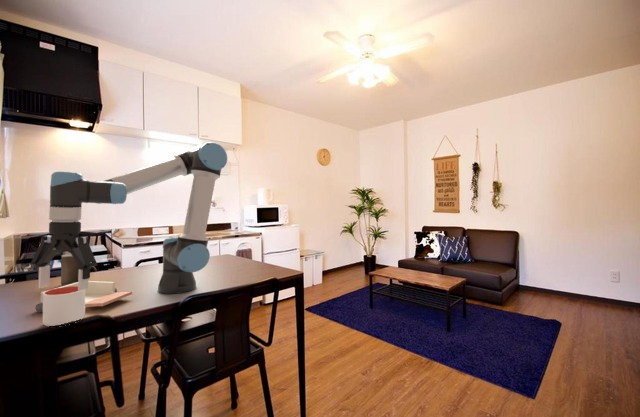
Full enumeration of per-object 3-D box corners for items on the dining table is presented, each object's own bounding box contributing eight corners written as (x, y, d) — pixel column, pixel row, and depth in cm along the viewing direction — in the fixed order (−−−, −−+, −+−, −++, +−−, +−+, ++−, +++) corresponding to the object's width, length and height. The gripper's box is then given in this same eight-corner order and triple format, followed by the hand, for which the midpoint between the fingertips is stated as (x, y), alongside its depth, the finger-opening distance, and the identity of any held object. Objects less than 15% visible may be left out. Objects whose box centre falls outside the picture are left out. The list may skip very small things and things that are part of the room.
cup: (59, 330, 84) (60, 296, 84) (33, 326, 86) (33, 293, 86) (93, 317, 94) (93, 287, 94) (68, 314, 96) (69, 284, 96)
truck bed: (119, 295, 117) (119, 280, 117) (69, 314, 96) (70, 296, 96) (88, 293, 118) (88, 279, 118) (32, 312, 97) (32, 294, 97)
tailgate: (112, 295, 113) (132, 294, 112) (81, 306, 100) (103, 305, 99) (112, 292, 113) (131, 291, 112) (80, 304, 100) (102, 303, 99)
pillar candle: (86, 285, 130) (87, 252, 130) (58, 288, 124) (59, 254, 124) (89, 280, 138) (90, 249, 138) (63, 283, 133) (63, 251, 133)
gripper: (111, 221, 92) (109, 287, 92) (42, 219, 95) (40, 282, 95) (91, 222, 85) (88, 293, 85) (16, 220, 87) (14, 289, 87)
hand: (63, 288), depth 90 cm, fingers open, 13 cm apart
